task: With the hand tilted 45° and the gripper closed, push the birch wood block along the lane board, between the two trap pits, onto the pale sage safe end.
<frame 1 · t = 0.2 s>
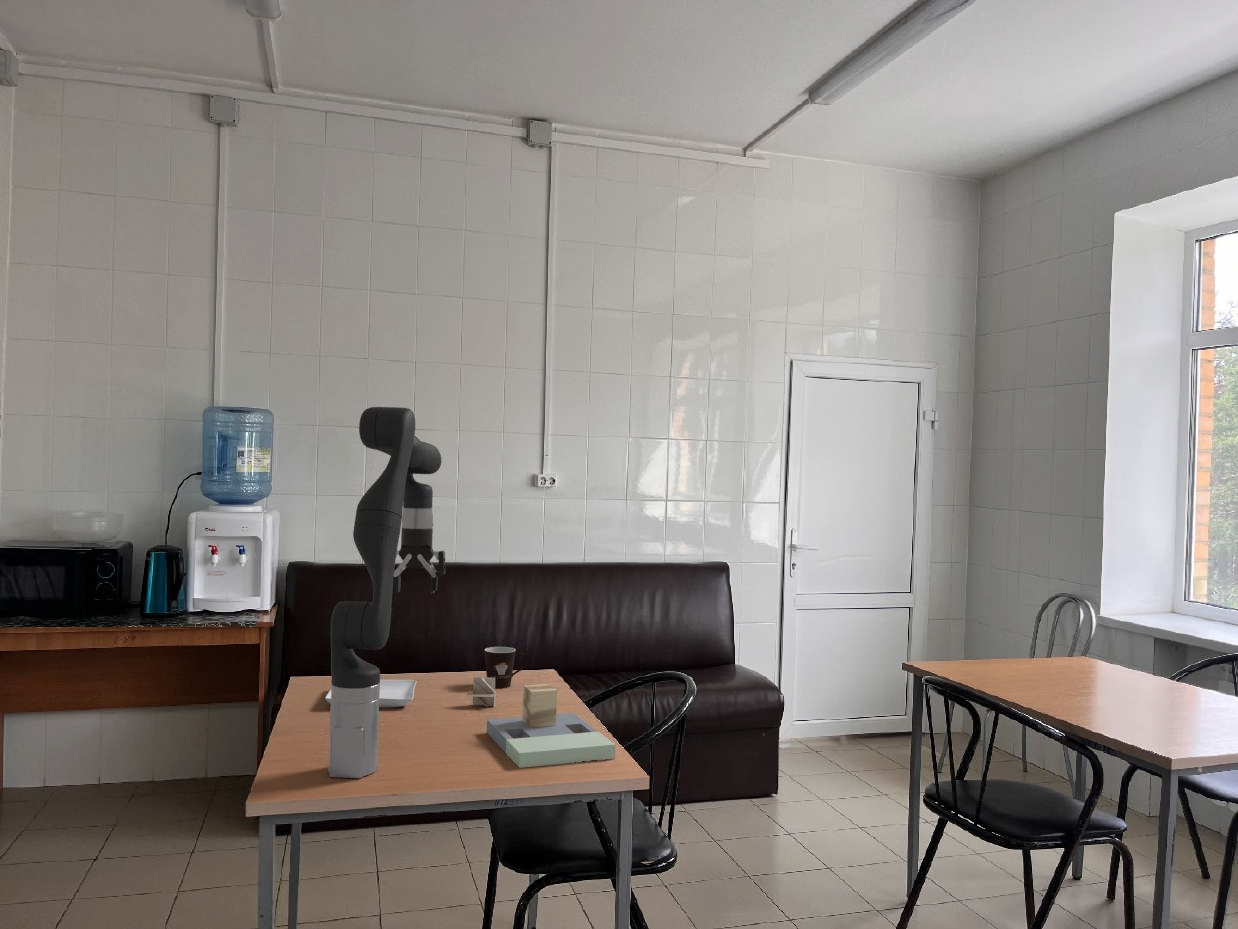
hand: (415, 592, 227), 29 cm above the table, tool pointing down, fingers open, 8 cm apart
birch block: (539, 723, 209), point 3 cm above the table, touching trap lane
architectural model: (483, 708, 234), on the table
salad plate: (372, 701, 237), on the table
coffee mug: (504, 687, 256), on the table
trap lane: (548, 745, 203), on the table
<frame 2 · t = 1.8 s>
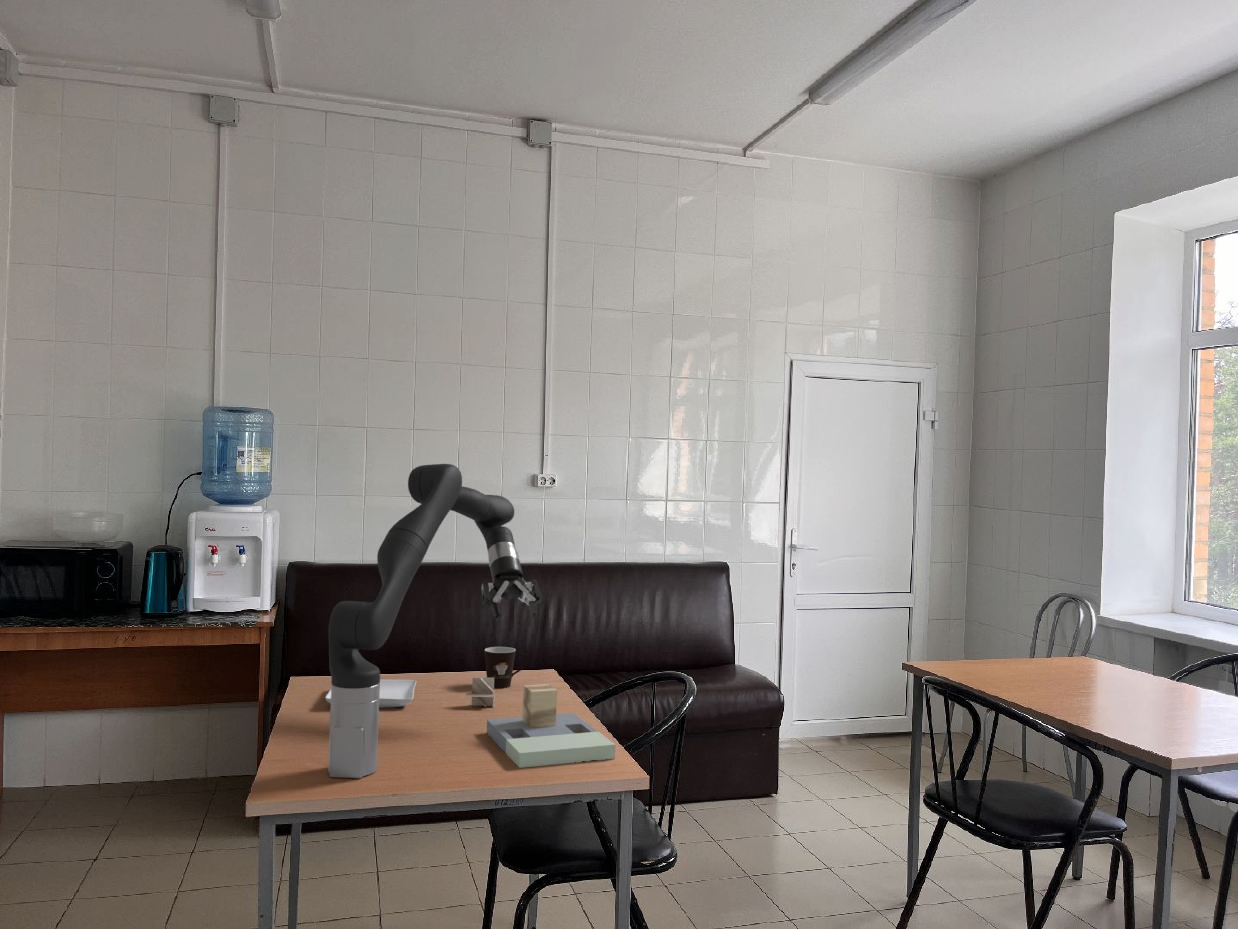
hand: (516, 617, 220), 25 cm above the table, tool tilted 45°, fingers open, 8 cm apart
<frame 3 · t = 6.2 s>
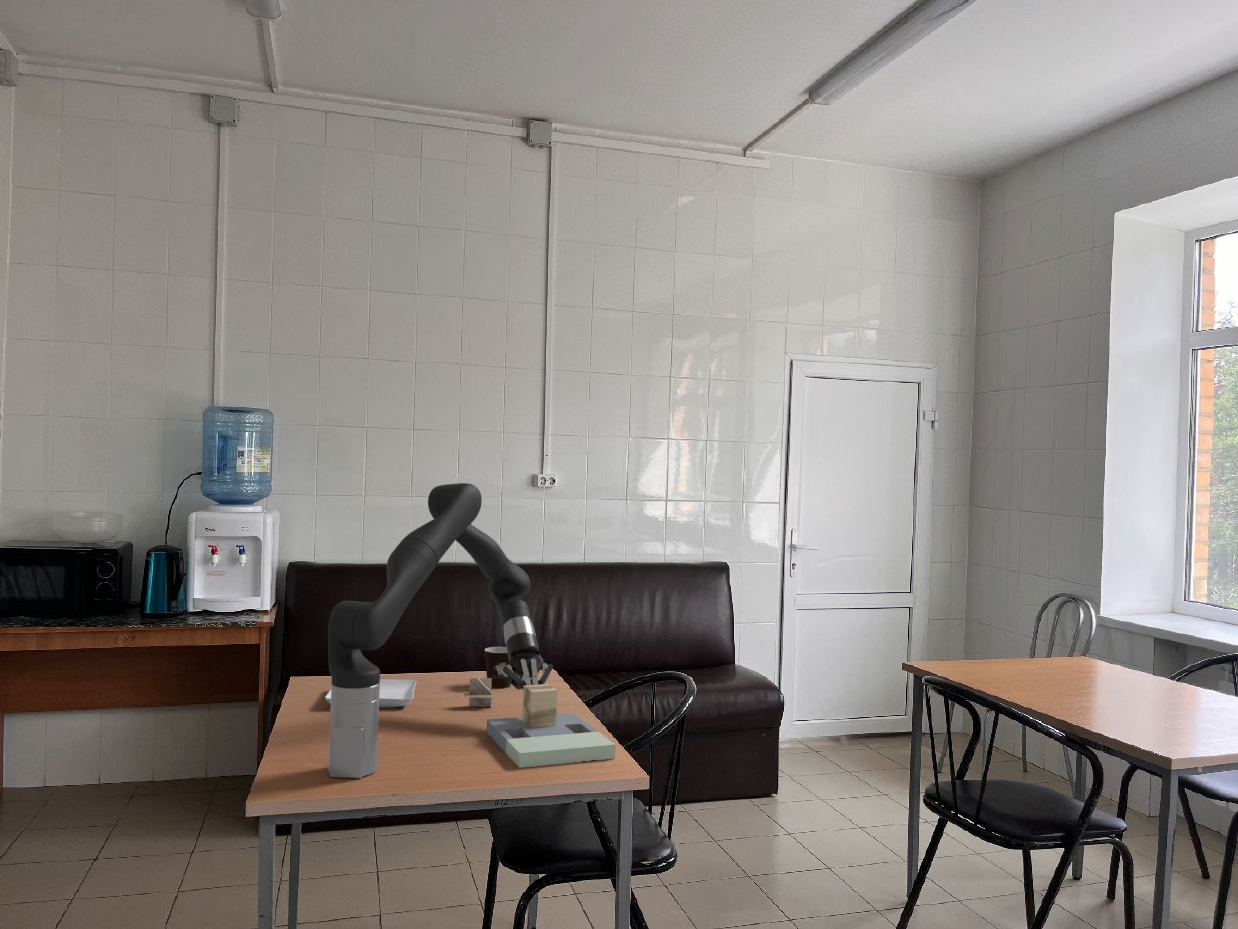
hand: (534, 702, 212), 7 cm above the table, tool tilted 45°, fingers closed
birch block: (539, 723, 209), point 3 cm above the table, touching gripper, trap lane
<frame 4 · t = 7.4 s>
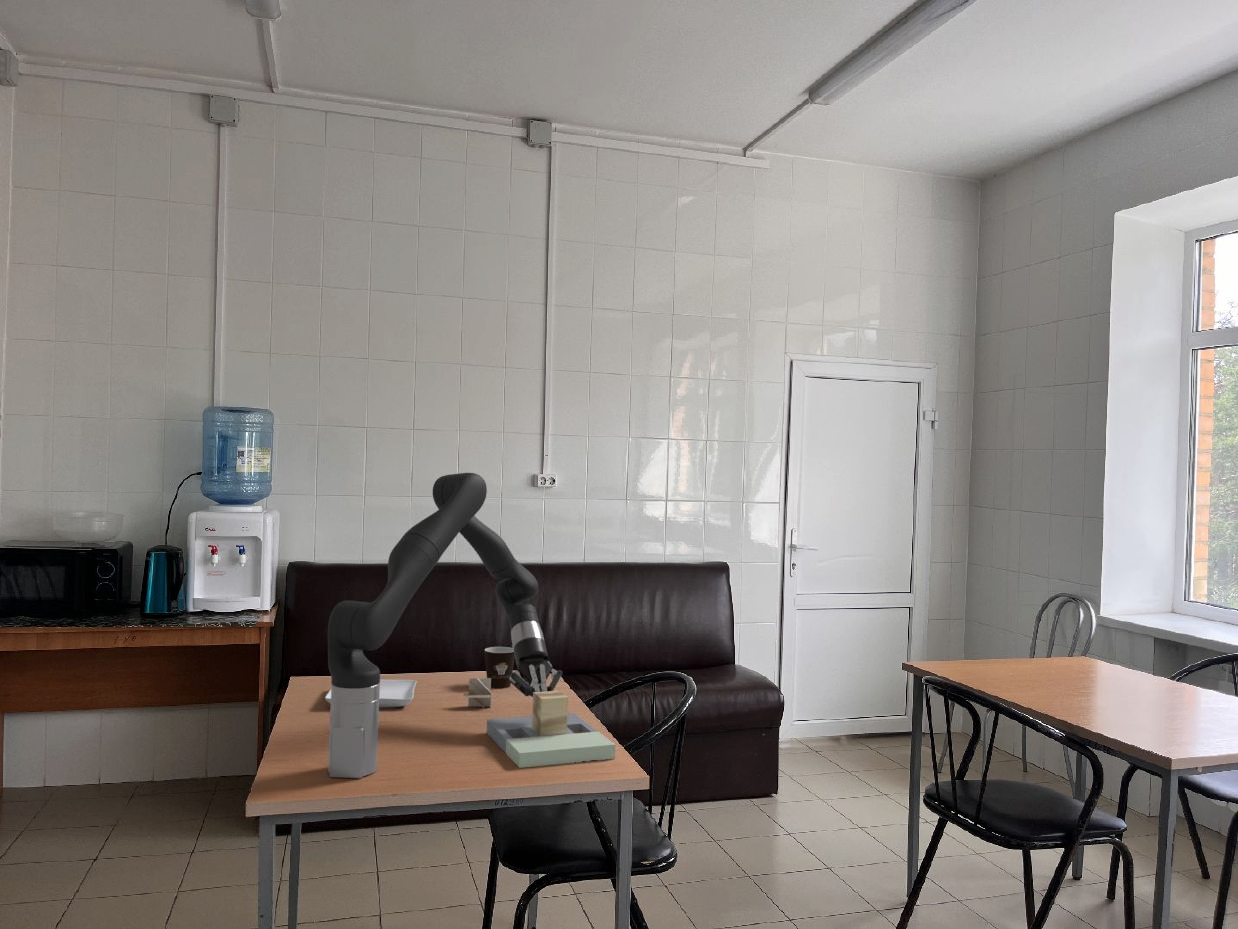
hand: (543, 710, 206), 7 cm above the table, tool tilted 45°, fingers closed
birch block: (549, 731, 203), point 3 cm above the table, touching gripper
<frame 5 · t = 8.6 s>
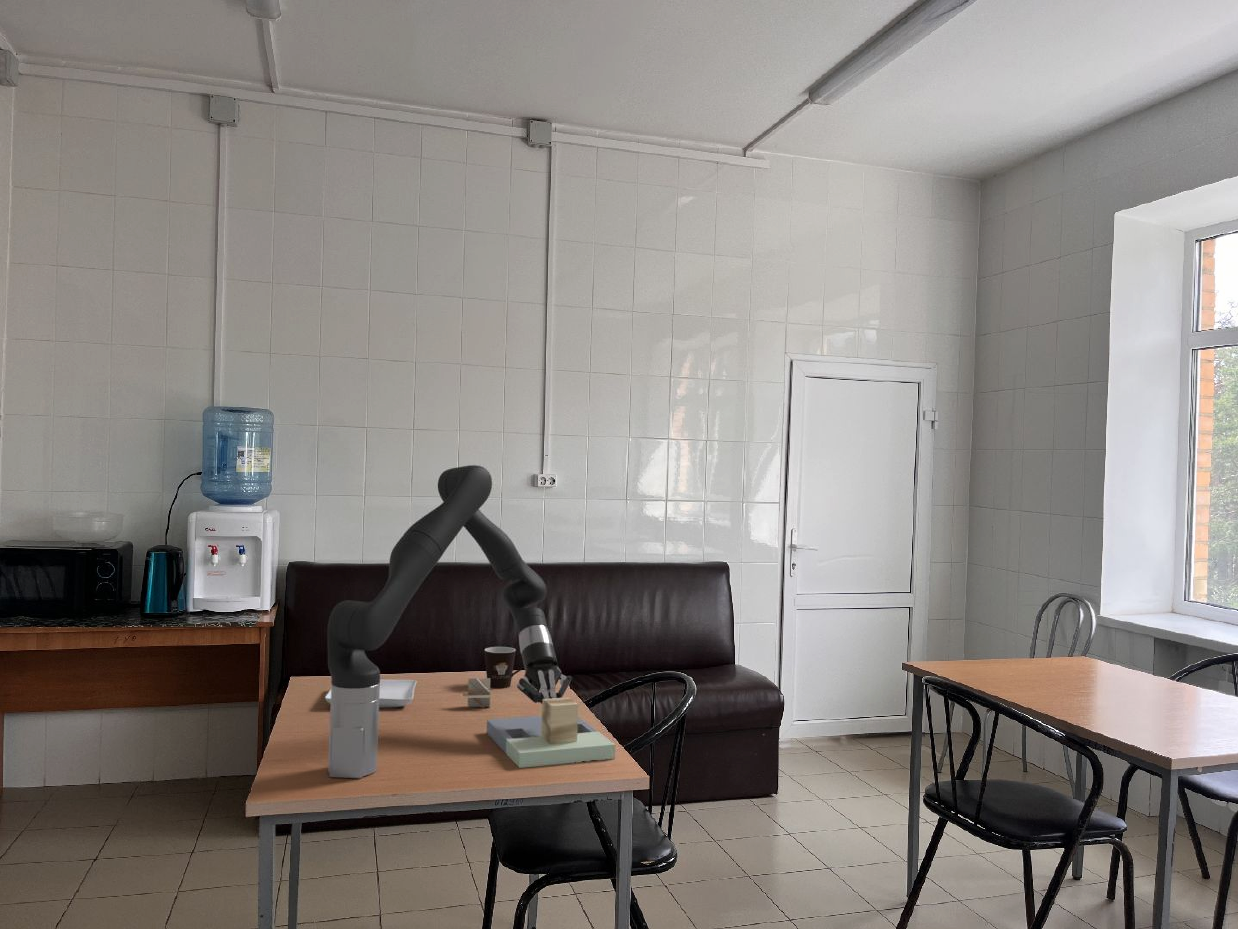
hand: (552, 717, 200), 7 cm above the table, tool tilted 45°, fingers closed
birch block: (559, 739, 197), point 3 cm above the table, touching gripper
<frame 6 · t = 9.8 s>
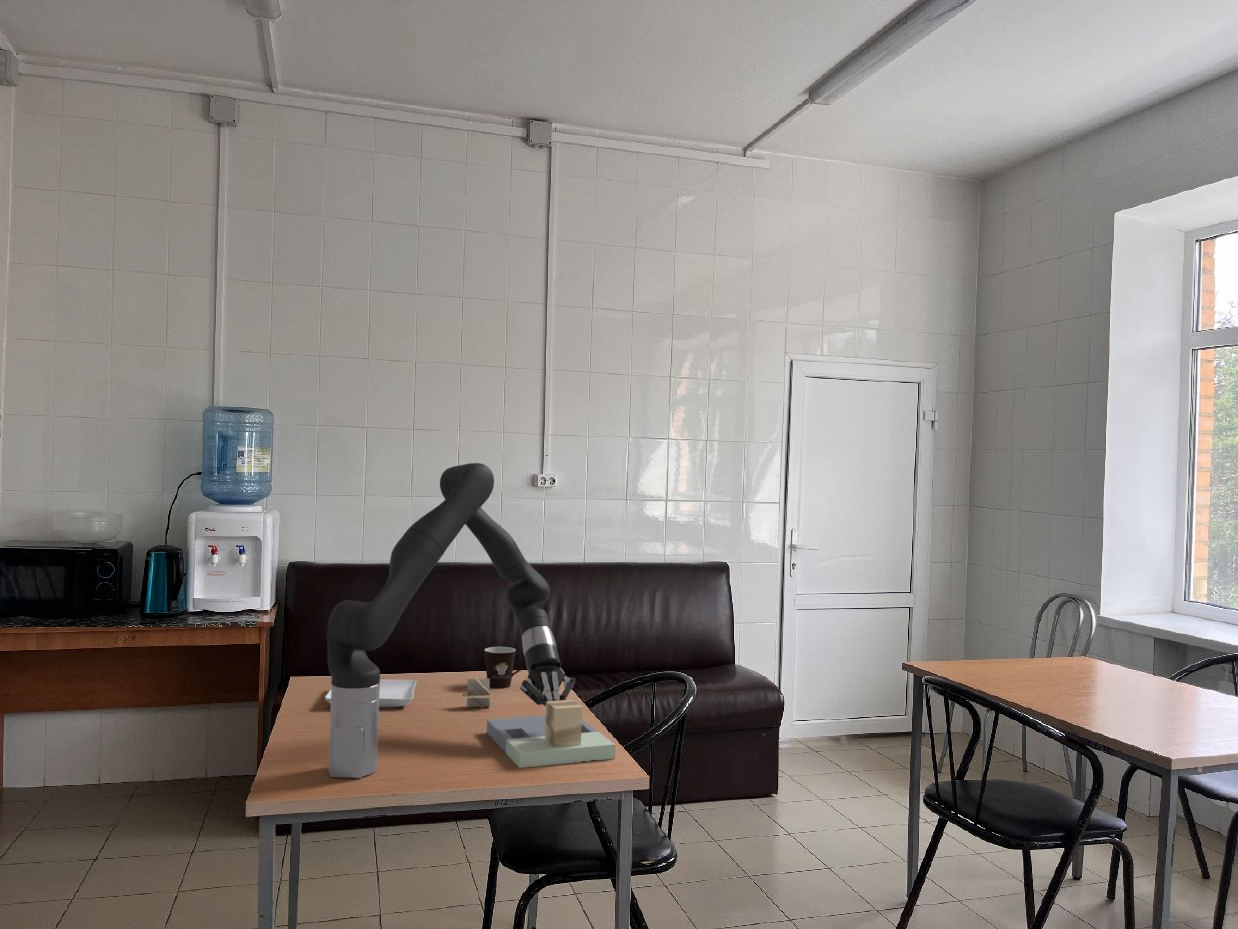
hand: (556, 719, 198), 7 cm above the table, tool tilted 45°, fingers closed
birch block: (562, 742, 195), point 3 cm above the table, touching gripper, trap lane
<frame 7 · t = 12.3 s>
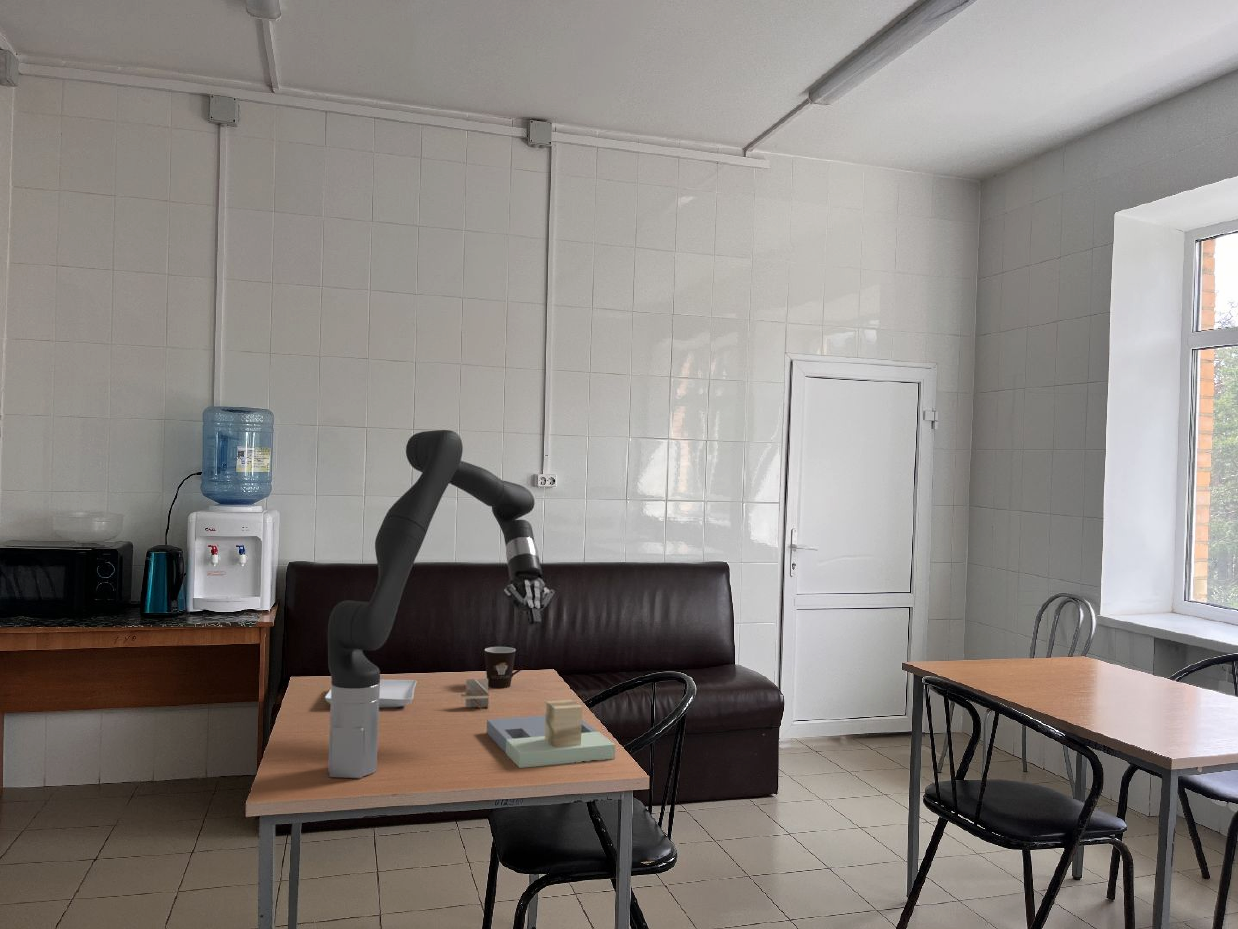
hand: (535, 625, 208), 25 cm above the table, tool tilted 40°, fingers closed
birch block: (562, 742, 195), point 3 cm above the table, touching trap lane
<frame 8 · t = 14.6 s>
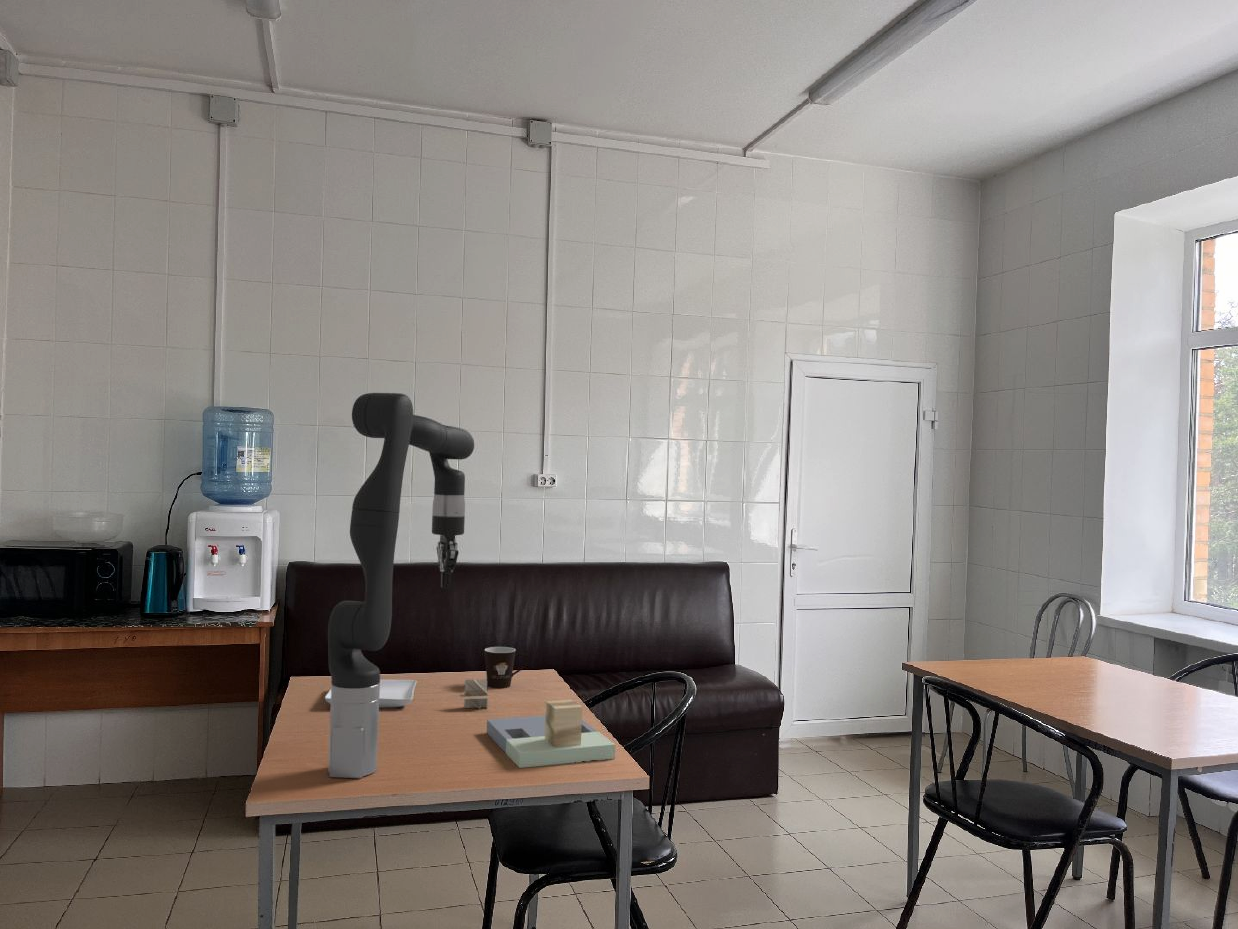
hand: (446, 587, 216), 32 cm above the table, tool pointing down, fingers closed
at the end: birch block inside the target area on the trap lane (0.8 cm from its centre), point 3.0 cm above the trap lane's base; birch block tilted 0°; birch block moved 15.1 cm from its start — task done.
